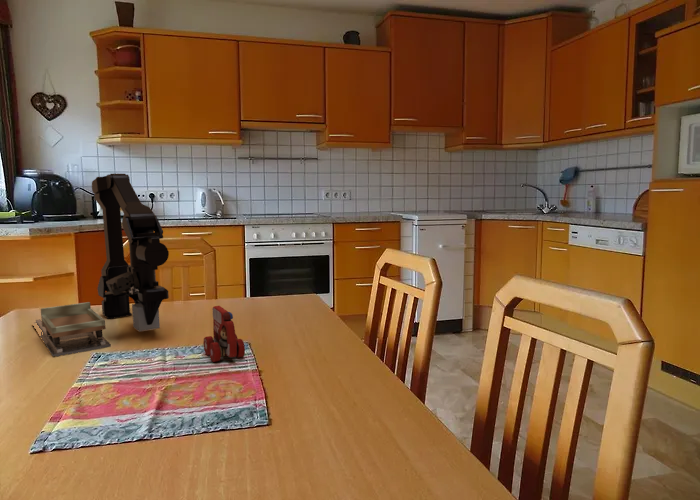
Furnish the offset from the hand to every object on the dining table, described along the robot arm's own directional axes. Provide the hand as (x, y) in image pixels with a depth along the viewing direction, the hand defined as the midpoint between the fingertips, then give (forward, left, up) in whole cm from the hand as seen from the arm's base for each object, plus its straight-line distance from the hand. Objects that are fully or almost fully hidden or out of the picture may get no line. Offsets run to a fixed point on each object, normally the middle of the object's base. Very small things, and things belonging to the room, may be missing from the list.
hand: (146, 322), depth 134 cm
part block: (0, 0, -1) cm, 1 cm away
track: (+16, -11, -3) cm, 20 cm away
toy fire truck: (-8, +29, -3) cm, 30 cm away
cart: (+16, -4, -1) cm, 16 cm away
